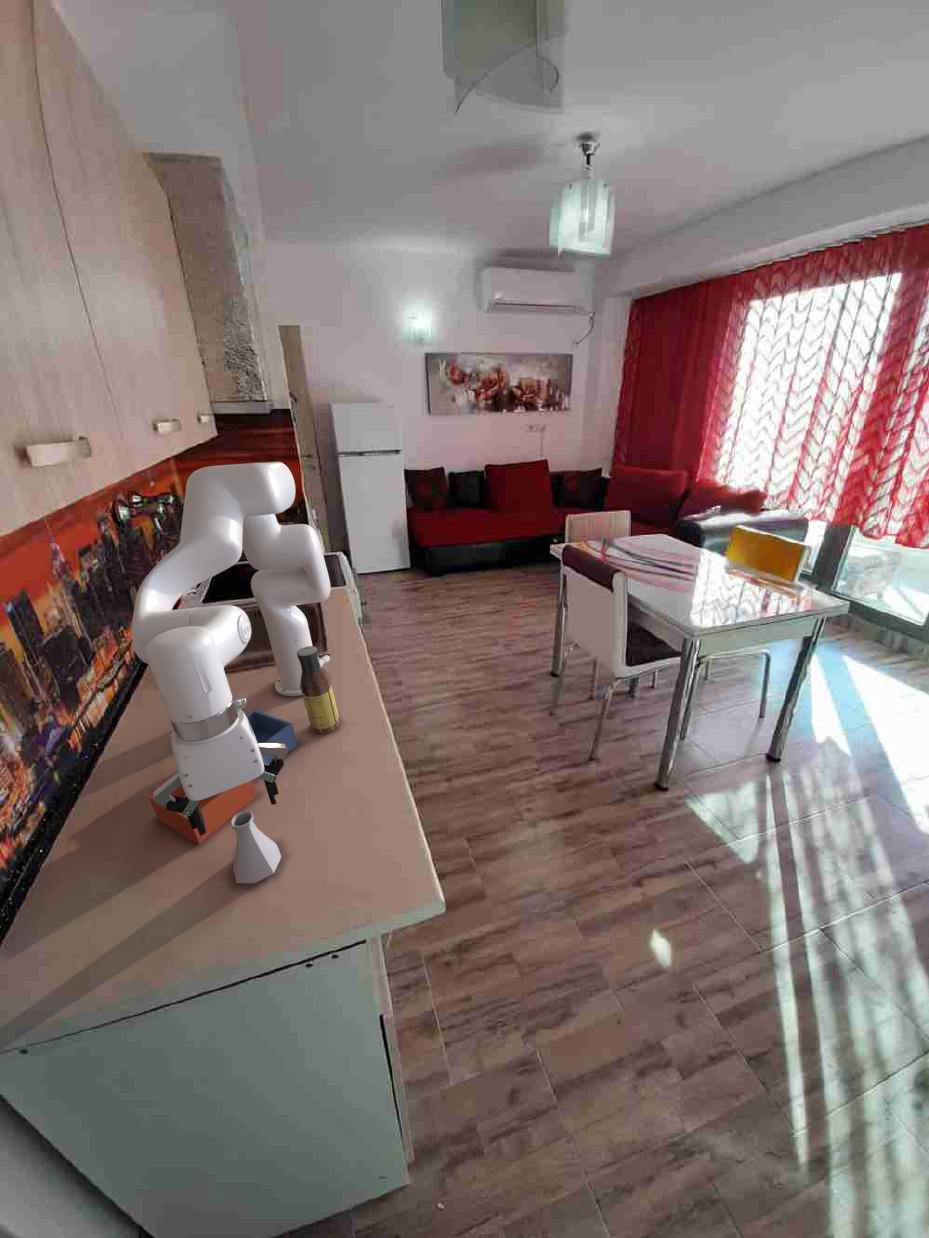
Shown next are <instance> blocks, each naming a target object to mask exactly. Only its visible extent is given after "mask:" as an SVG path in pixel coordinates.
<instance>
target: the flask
mask: <svg viewBox="0 0 929 1238" xmlns="http://www.w3.org/2000/svg"><path fill="white" fill-rule="evenodd" d="M230 825H231V829H232V830H235V835H236V837H235V838H236V843H235V853H234V860H233V865H232V871H233V875H234V879H235V883H236V884H257V883H259V882H260V881H262V880H264V879H266V878H268V877H270V876H271V875H273V874H275V873H276V869H277V868H278V865H279V863H280V861H281V859H282V854H281V852H280V849H279V847H278V844H277V843H276V842H274V841H273V840H272V839H271V838H270V837H268V836H267V835H265V834H264V833H263V832H262V831H261V830H260V829H259V828H258V827H257V826H256V824H255V822H254V814H253V811H252V810H242V811H239V812H237V813H236V814H235V815H234V816H232V817H231V819H230Z"/></svg>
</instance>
